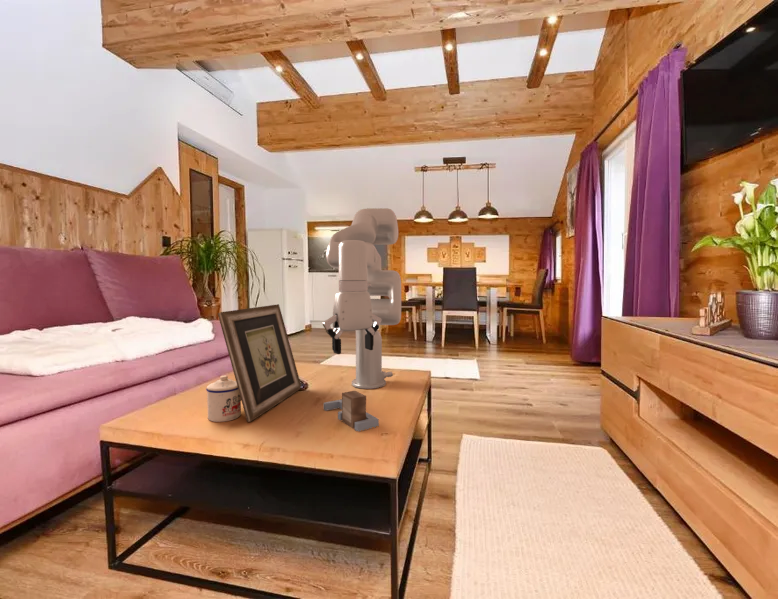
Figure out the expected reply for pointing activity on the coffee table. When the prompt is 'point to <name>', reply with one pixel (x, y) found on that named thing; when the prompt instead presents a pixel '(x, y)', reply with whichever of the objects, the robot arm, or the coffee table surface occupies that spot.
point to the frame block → (353, 408)
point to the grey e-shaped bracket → (359, 425)
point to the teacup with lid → (223, 400)
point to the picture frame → (260, 357)
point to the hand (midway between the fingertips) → (353, 351)
